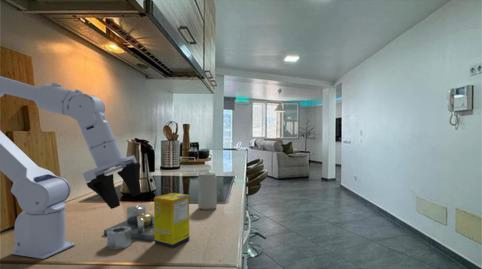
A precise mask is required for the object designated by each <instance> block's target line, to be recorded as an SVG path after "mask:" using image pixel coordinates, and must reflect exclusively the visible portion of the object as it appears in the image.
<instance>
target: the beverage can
mask: <svg viewBox="0 0 482 269" xmlns="http://www.w3.org/2000/svg"><path fill="white" fill-rule="evenodd" d="M217 178H218V177H217V175H216V172H207V171H206V172H199V173H198V177H197V206H198V208H199V209H200V210H202V211H203V210H204V211H209V210H210V211H211V210H214V209H215V208H216V207H217V206H218V202H217V201H218V195H217V193H218V190H217V189H218V188H217V184H218V181H217Z"/></svg>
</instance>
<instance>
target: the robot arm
mask: <svg viewBox="0 0 482 269" xmlns="http://www.w3.org/2000/svg"><path fill="white" fill-rule="evenodd" d="M5 94H6V95H9V96H14V97H19V98H20V99H21V98H22V99H24V100H25V99H26V100H30V101H33V102H34V104H36V106H37V108H39V109H41V110H45V111H49V112H52V113H55V114H60V115H63V116H67V117H70V118H71V119H74V121H76V122H77V124H78V125H79V129H80V131H81V134H82V136H83V137H84V140H85V142H86V145H87V147H88V150H89V151H90V152H89V153H90V154H91V156H92V159H93V161H94V164H95V166H96V168H93V169H89V170H88V171H85V172H82V176H83V179H84V180H85V182H86V186H87V188H88V189H90V190H92V191H93V192H94V193H95V194H97V195H98V196H99V197H101V199H102V200H103V201H104V202H105V204H106V205H107V206H108V207H109V208H110V210H114V209H115V208H118V207H120V206H121V204H120V200H119V197H118V194H117V192H116V186H115V183H114V182H115V181H114V174H113V172H116V171H117V172H116V173H117V175H118V176H119V177H120V178H121V179H122V180H123V182H124V183H125V185H126V187H127V189H128V191H129V192H130V195H131V196H132V197H133V198H134V197H137V196H140V195H141V194H142V190H141V182H140V170H141V163H140V162H139V161H137V159H136V156H135V155H130V156H125V157H124V156H123V154H122V152H121V151H122V150H121V149H120V147H119V145H118V141H117V140H116V137H115V135H114V132H113V131H112V129H111V126H110V123H109V122H108V119H107V117H106V114H105V112H106V106H105V103H104V102H103V100H102V99H100V98H99V97H97V96H95V95H90V94H88V93H87V94H86V93H83V91H82V90H79V89H75V90H71V89H68V88H65V87H62V84H60V83H56V82H52V83H45V84H42V85H40V86H38V87H37V86H35V85H32V84H29V83H25V82H21V81H19V80H15V79H11V78H9V77H8V78H7V77H4V76H2V75H0V98H1V97H3V96H4V95H5ZM113 167H115V168H113ZM118 170H119V171H118ZM0 172H2V173H3V174H4V176H6V177H7V178H8V179H9V180H10V182H12V186H11V189H10V193H11V194H12V195H13V196H14V197H15V199H16V200H17V203H18V206H19V207H20V209H21V210H23V211H22V212H20V213H19V214H18V215H17V217H16V219H15V221H14V250H11V251H10V254H11V255H15V256H21V257H22V256H23V257H28V258H29V257H30V258H34V259H41V260H42V259H43V260H44V259H47V258H49V257H51V256H53V255H56V254H58V253H60V252H62V251H64V250H66V249H70V248H72V247H73V246H75V245H76V244H75V242H71V241H66V201H67V200H68V199H69V197H70V195H71V192H72V188H71V185H70V182H69V181H68V180H67V179H66V178H64V177H61V176H58V175H56V174H54V172H52V171H51V170H48V169H46V168H44V167H41V166H38V164H36V163H35V162H34V161H33V160H32V159H31V158H30V157H29V156H28V155H27V154H25V152H24V151H23V150H21V149H20V148H19V147H18V146H17V145H16V144H15V143H14V142H13V141H12V140H11V139H10V138H9V137H8V136H6V134H5V133H3V132H2V130H0Z"/></svg>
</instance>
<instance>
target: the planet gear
mask: <svg viewBox="0 0 482 269" xmlns="http://www.w3.org/2000/svg"><path fill="white" fill-rule="evenodd" d="M131 245H132V238H131V228H130V227H125V226H121V227H114V228H111V229H109V230H107V235H106V246H107V247H106V248H107V249H108V250H114V251H116V250H121V249H127V248H128V247H130V246H131Z"/></svg>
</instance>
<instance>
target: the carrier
mask: <svg viewBox="0 0 482 269" xmlns="http://www.w3.org/2000/svg"><path fill="white" fill-rule="evenodd" d="M121 226H125V227H130V228H131V239H136V240H144V241H145V240H146V241H154V242H155V216H154V215H153V213H151V212H147V211H146V206H145V205H131V206H128V207H127V208H126V220H124V221H122V222H120V223H117V224H115V225H113V226H110V227H108V228H105V229H104V230H103V235H104V236H107V230H109V229H111V228H114V227H121Z"/></svg>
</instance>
